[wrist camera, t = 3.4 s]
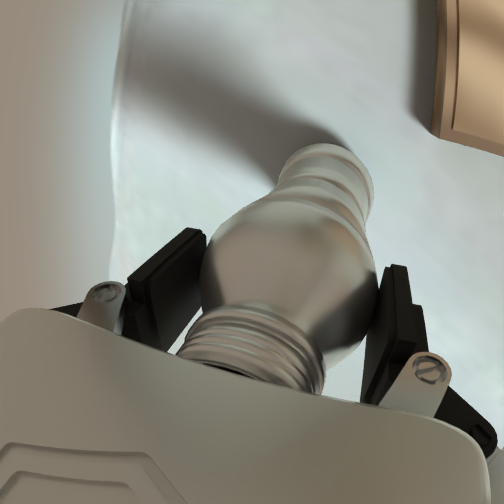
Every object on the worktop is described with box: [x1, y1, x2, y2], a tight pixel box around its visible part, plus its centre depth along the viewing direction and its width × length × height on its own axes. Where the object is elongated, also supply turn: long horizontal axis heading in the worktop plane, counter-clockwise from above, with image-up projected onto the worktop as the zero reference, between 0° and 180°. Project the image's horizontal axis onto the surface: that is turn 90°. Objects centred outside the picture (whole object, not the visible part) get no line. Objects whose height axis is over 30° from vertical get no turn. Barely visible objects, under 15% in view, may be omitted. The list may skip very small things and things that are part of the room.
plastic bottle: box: [175, 143, 379, 395], centre depth 15 cm, size 6×7×20 cm
